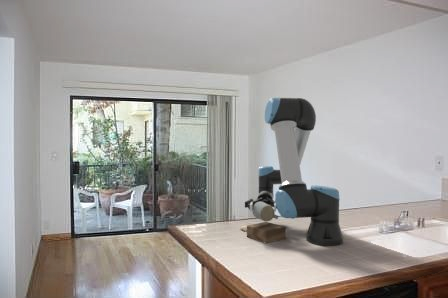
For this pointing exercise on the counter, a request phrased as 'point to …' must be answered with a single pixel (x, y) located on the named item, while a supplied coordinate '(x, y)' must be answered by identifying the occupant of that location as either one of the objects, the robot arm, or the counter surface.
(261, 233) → the walnut base block
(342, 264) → the counter surface
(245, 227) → the cork coaster
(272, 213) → the ceramic mug
